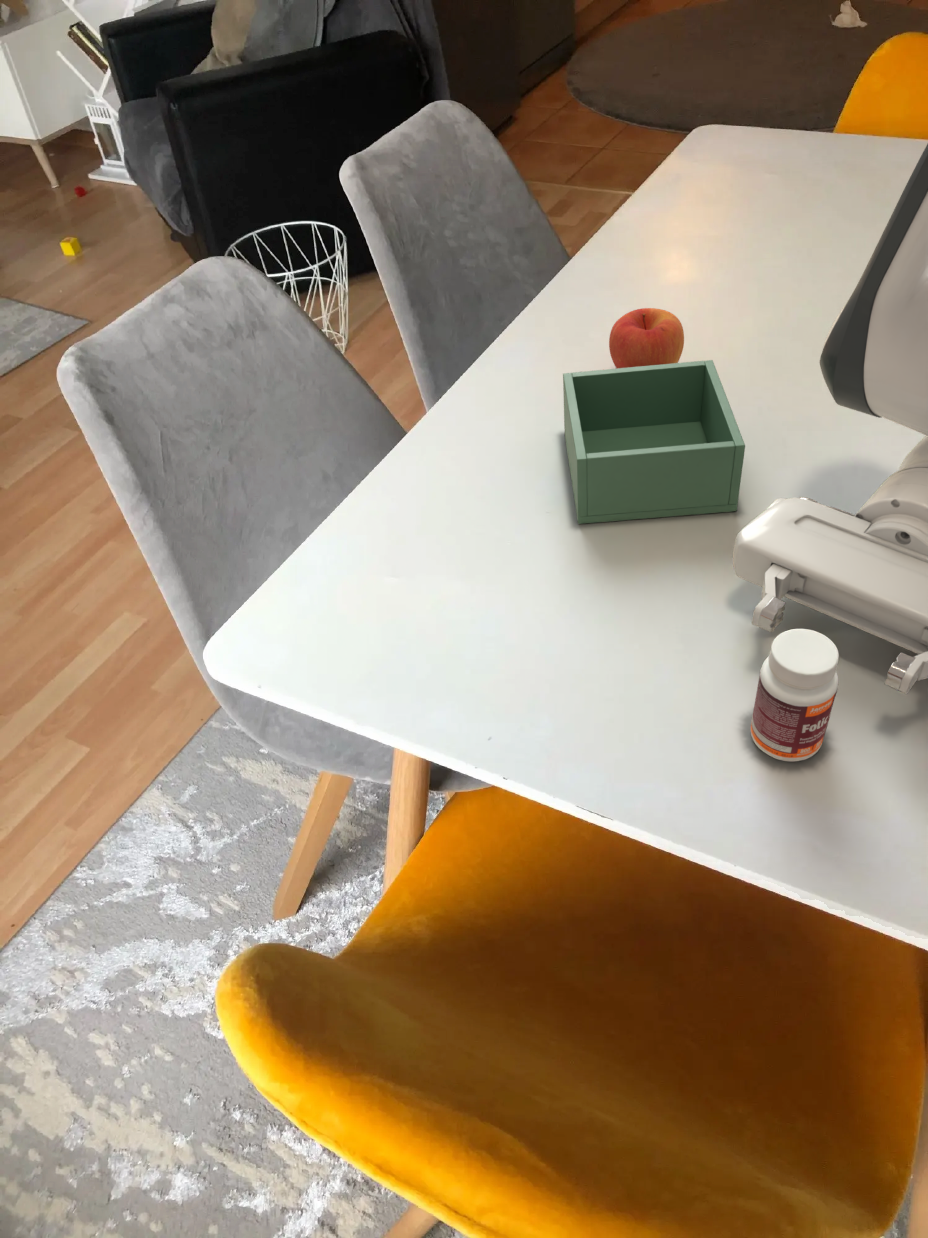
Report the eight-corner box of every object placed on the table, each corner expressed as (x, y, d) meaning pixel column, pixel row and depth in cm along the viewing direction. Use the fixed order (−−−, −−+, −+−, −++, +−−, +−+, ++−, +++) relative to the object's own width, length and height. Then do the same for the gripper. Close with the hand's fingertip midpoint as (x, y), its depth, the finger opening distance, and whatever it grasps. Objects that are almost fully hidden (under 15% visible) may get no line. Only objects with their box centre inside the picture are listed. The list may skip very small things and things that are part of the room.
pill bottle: (805, 775, 63) (827, 691, 57) (737, 743, 65) (751, 659, 59) (834, 727, 65) (858, 641, 59) (768, 698, 67) (784, 613, 62)
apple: (685, 362, 100) (690, 289, 94) (676, 400, 95) (681, 326, 89) (615, 358, 102) (616, 287, 96) (603, 396, 97) (603, 323, 91)
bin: (706, 423, 92) (712, 359, 87) (736, 511, 82) (745, 445, 77) (564, 435, 93) (562, 373, 88) (578, 524, 83) (577, 459, 78)
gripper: (789, 458, 74) (693, 556, 67) (1078, 559, 63) (998, 687, 56) (778, 522, 78) (687, 620, 71) (1046, 626, 67) (969, 753, 61)
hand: (826, 651), depth 64 cm, fingers open, 8 cm apart
